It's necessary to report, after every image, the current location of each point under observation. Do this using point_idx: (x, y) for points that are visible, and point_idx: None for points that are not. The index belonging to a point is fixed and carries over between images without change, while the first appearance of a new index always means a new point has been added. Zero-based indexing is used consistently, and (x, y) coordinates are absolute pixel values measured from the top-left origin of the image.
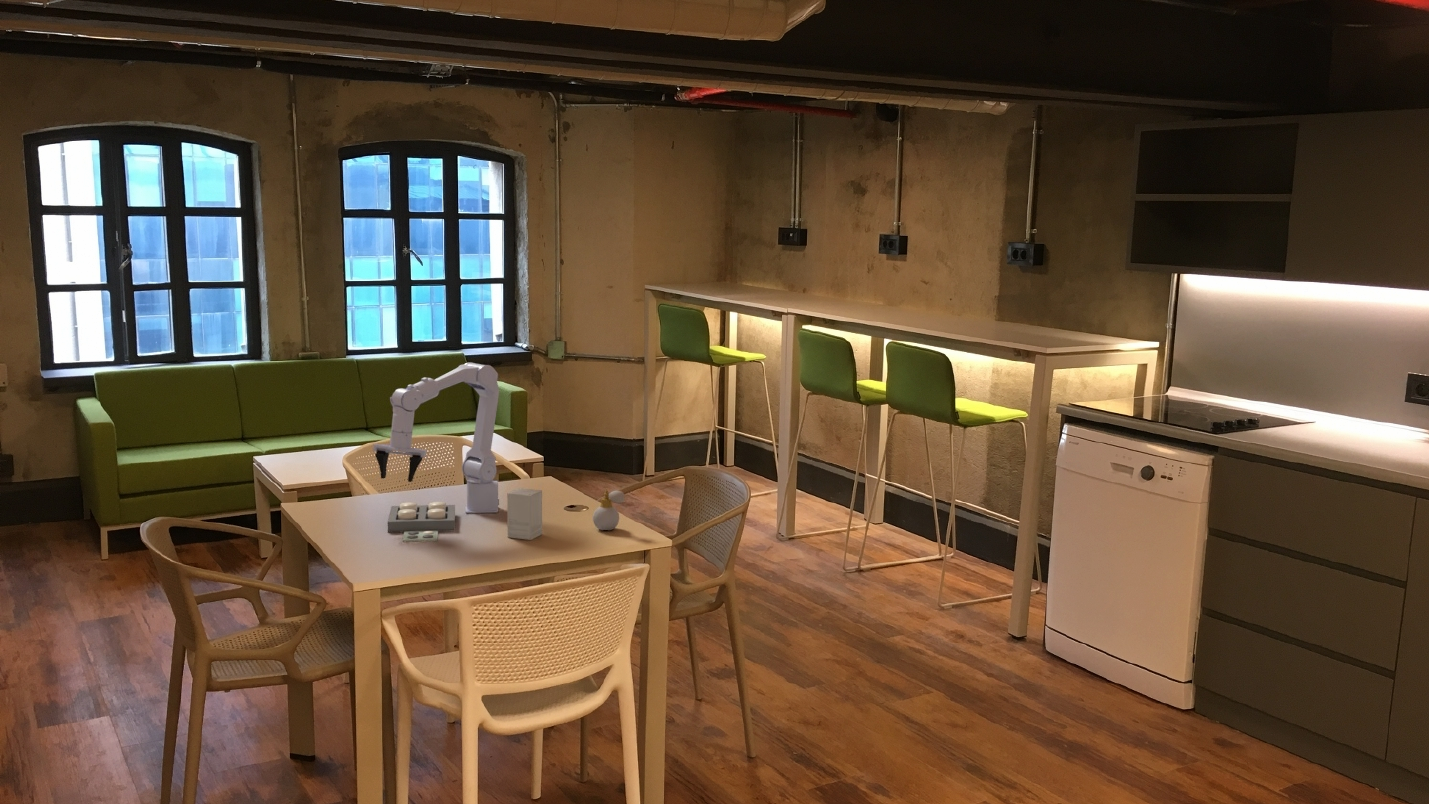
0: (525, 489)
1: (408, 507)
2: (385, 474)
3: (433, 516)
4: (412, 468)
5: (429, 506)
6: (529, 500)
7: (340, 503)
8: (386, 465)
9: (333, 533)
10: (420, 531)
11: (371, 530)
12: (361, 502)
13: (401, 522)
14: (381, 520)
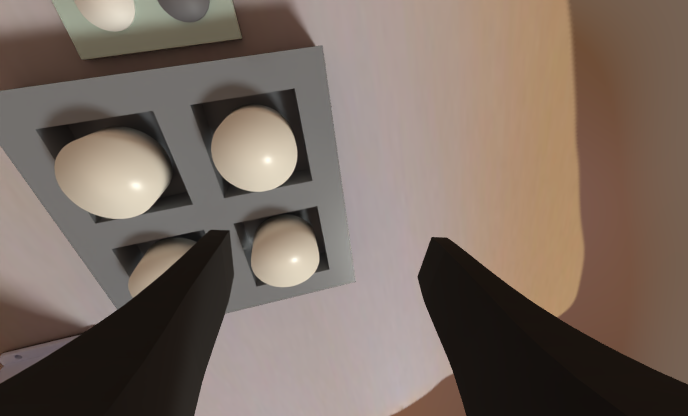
0: None
1: (276, 231)
2: (427, 290)
3: (113, 133)
4: (122, 318)
5: None
6: None
7: None
8: (454, 368)
9: (511, 24)
10: (161, 33)
11: (383, 79)
12: (438, 349)
13: (257, 55)
14: (369, 213)
